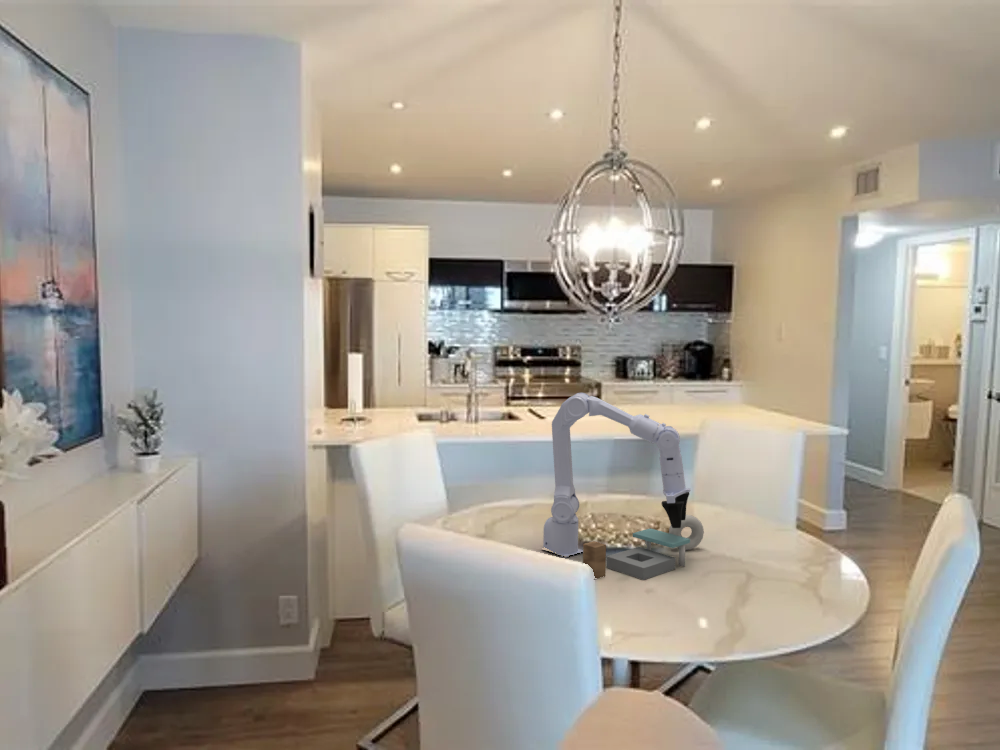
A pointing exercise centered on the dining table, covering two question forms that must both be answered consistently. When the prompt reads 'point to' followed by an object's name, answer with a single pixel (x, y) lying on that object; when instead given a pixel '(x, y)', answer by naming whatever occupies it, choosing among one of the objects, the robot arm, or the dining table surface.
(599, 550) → the peg
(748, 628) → the dining table surface
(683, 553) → the teal mini table
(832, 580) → the dining table surface
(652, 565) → the socket block
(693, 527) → the donut
